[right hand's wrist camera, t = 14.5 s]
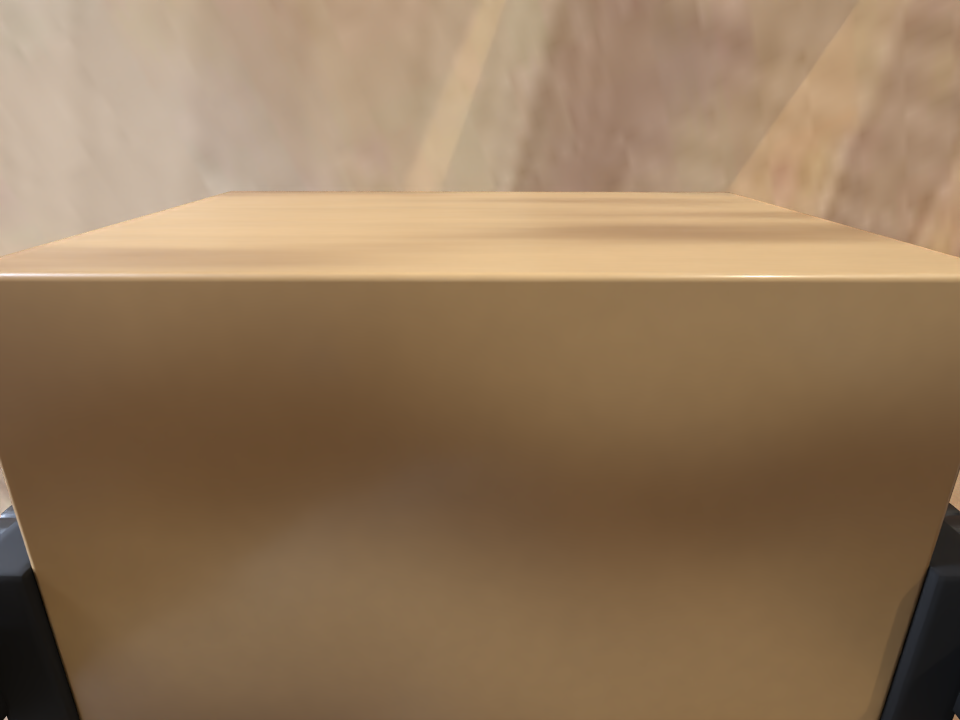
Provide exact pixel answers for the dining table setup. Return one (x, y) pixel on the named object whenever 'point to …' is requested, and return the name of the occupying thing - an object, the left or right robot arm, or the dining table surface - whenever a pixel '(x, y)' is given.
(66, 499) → the wide beam
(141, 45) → the dining table surface
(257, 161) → the dining table surface
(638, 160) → the dining table surface
